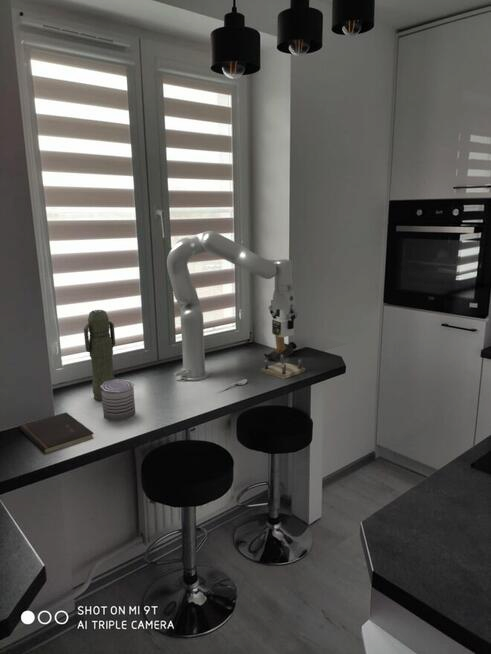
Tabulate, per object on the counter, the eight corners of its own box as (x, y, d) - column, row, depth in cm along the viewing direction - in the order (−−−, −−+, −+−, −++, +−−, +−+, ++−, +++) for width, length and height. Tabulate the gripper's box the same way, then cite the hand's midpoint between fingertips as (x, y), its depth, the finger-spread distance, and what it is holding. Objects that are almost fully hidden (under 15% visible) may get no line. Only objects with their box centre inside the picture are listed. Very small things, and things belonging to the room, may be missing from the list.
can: (126, 406, 186) (124, 376, 183) (141, 415, 177) (139, 384, 174) (98, 415, 178) (95, 384, 175) (112, 424, 170) (109, 392, 167)
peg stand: (284, 378, 212) (284, 366, 211) (261, 371, 222) (261, 360, 221) (305, 371, 222) (305, 359, 220) (282, 364, 232) (282, 353, 230)
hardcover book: (67, 418, 178) (66, 412, 177) (94, 439, 161) (93, 432, 160) (20, 431, 167) (20, 425, 167) (44, 455, 150) (44, 448, 150)
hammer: (273, 366, 236) (265, 308, 225) (265, 364, 239) (257, 307, 228) (297, 350, 250) (291, 294, 239) (289, 348, 253) (282, 293, 242)
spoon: (250, 383, 209) (250, 379, 208) (214, 397, 194) (213, 393, 194) (243, 381, 211) (243, 377, 211) (207, 394, 197) (206, 390, 197)
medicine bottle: (271, 334, 219) (271, 307, 217) (285, 332, 223) (285, 306, 220) (280, 337, 213) (280, 310, 210) (294, 335, 217) (294, 308, 214)
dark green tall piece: (124, 395, 197) (117, 309, 189) (99, 404, 188) (91, 315, 180) (111, 390, 202) (103, 307, 194) (86, 399, 193) (77, 312, 185)
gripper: (304, 289, 209) (303, 328, 214) (274, 285, 222) (274, 322, 226) (292, 291, 204) (292, 332, 209) (262, 287, 217) (263, 325, 221)
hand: (283, 327), depth 217 cm, fingers closed on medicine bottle, 8 cm apart
